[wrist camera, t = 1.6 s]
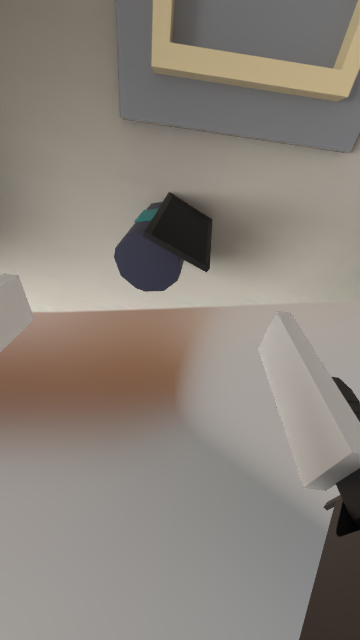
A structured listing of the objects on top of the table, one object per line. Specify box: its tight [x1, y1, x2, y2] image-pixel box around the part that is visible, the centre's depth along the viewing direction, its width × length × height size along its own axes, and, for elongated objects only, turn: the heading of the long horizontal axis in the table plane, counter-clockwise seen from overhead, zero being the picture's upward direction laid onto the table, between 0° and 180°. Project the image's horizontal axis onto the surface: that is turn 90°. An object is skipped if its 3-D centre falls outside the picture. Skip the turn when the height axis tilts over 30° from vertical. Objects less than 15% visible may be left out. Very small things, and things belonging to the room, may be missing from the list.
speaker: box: [114, 192, 212, 291], centre depth 20 cm, size 8×6×10 cm
